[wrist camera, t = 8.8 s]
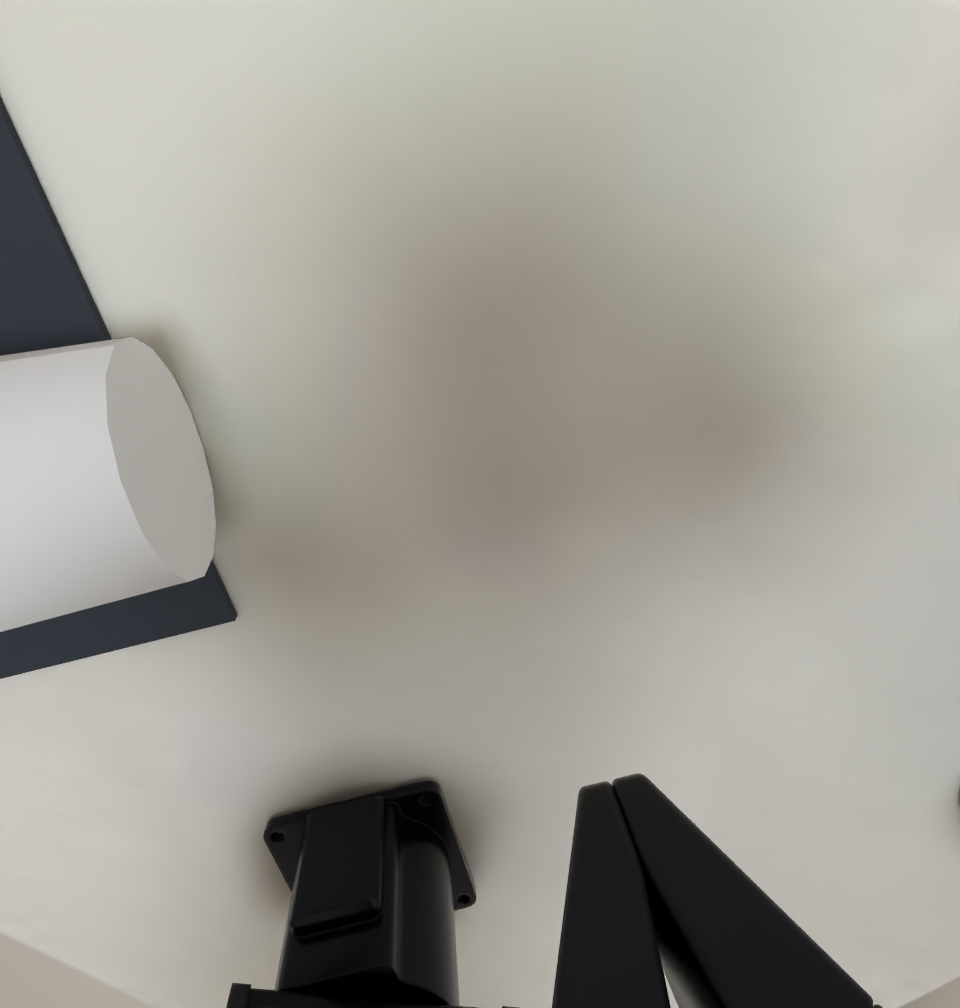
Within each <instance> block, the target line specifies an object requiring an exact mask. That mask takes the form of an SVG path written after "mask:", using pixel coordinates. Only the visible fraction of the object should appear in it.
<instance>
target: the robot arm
mask: <svg viewBox="0 0 960 1008" xmlns="http://www.w3.org/2000/svg"><path fill="white" fill-rule="evenodd" d="M425 795H431V796H427V797H425ZM263 837H264V841H265V843H266V845H267V846H268V848H269V850H270V852H271V854H272V856H273V858H274V860H275V862H276V864H277V865H278V867H279V869H280V871H281V873H282V875H283V877H284V879H285V881H286V882H287V884H288V886H289V888H290V890H291V892H292V896H291V901H290V907H289V913H288V918H287V924H286V929H285V935H284V941H283V946H282V952H281V957H280V963H279V969H278V974H277V980H276V985H275V990H265V989H253V988H251V984H240V983H232V987H231V991H230V995H229V999H228V1003H227V1007H226V1008H476V1007H465V1006H459V991H458V973H457V956H456V939H455V921H454V910H458V909H462V908H467V907H469V906H471V905H473V904H474V903H475V901H476V890H475V885H474V882H473V879H472V876H471V873H470V871H469V868H468V865H467V862H466V859H465V856H464V853H463V851H462V848H461V845H460V842H459V839H458V836H457V833H456V831H455V828H454V825H453V822H452V819H451V816H450V813H449V810H448V808H447V805H446V802H445V799H444V796H443V793H442V790H441V788H440V786H439V785H438V784H437V783H435V782H432V781H424V782H420V783H415V784H411V785H407V786H403V787H399V788H395V789H391V790H387V791H383V792H379V793H375V794H370V795H366V796H362V797H358V798H354V799H350V800H346V801H342V802H338V803H334V804H330V805H325V806H321V807H317V808H313V809H309V810H305V811H301V812H297V813H293V814H289V815H285V816H280V817H276V818H273V819H271V820H270V821H268V822H267V824H266V827H265V831H264V836H263ZM663 969H664V972H665V974H666V977H667V980H668V982H669V985H670V987H671V990H672V992H673V994H674V997H675V999H676V1002H677V1004H678V1006H679V1008H882V1007H881V1006H880V1005H874V1006H873V1000H872V998H871V996H870V995H869V994H868V993H867V992H866V991H865V990H864V989H862V988H861V987H860V986H859V985H858V984H857V983H856V982H855V981H854V980H853V979H852V978H851V977H850V976H849V975H848V974H847V973H846V972H845V971H844V970H843V969H842V968H841V967H840V966H839V965H838V964H837V963H836V962H835V961H834V960H833V959H832V958H831V957H830V956H829V955H828V954H827V953H826V952H825V951H824V950H823V949H822V948H821V947H820V946H819V945H818V944H816V943H815V942H814V941H813V940H812V939H811V938H810V937H809V936H808V935H807V934H806V933H805V932H804V931H803V930H802V929H801V928H800V927H799V926H798V925H797V924H796V923H795V922H794V921H793V920H792V919H791V918H790V917H789V916H788V915H787V914H786V913H785V912H784V911H783V910H782V909H781V908H780V907H779V906H778V905H777V904H776V903H775V902H774V901H773V900H772V899H771V898H769V897H768V896H767V895H766V894H765V893H764V892H763V891H762V890H761V889H760V888H759V887H758V886H757V885H756V884H755V883H754V882H753V881H752V880H751V879H750V878H749V877H748V876H747V875H746V874H745V873H744V872H743V871H742V870H741V869H740V868H739V867H738V866H737V865H736V864H735V863H734V862H733V861H732V860H731V859H730V858H729V857H728V856H727V855H726V854H725V853H723V852H722V851H721V850H720V849H719V848H718V847H717V846H716V845H715V844H714V843H713V842H712V841H711V840H710V839H709V838H708V837H707V836H706V835H705V834H704V833H703V832H702V831H701V830H700V829H699V828H698V827H697V826H696V825H695V824H694V823H693V822H692V821H691V820H690V819H689V818H688V817H687V816H686V815H685V814H684V813H683V812H682V811H681V810H680V809H679V808H677V807H676V806H675V805H674V804H673V803H672V802H671V801H670V800H669V799H668V798H667V797H666V796H665V795H664V794H663V793H662V792H661V791H660V790H659V789H658V788H657V787H656V786H655V785H654V784H653V783H652V782H651V781H650V780H649V779H648V778H647V777H645V776H644V775H642V774H633V775H629V776H625V777H621V778H617V779H615V780H614V781H613V782H612V785H611V784H610V783H609V782H600V783H596V784H592V785H588V786H584V787H582V788H581V789H580V791H579V795H578V802H577V810H576V818H575V826H574V835H573V843H572V851H571V859H570V867H569V875H568V883H567V891H566V899H565V907H564V915H563V923H562V931H561V939H560V947H559V955H558V963H557V971H556V979H555V987H554V995H553V1003H552V1008H670V1003H669V997H668V992H667V987H666V982H665V977H664V972H663ZM502 1008H518V1007H507V1006H503V1007H502Z"/></svg>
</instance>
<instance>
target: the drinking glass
mask: <svg viewBox="0 0 960 1008" xmlns="http://www.w3.org/2000/svg"><path fill="white" fill-rule="evenodd" d="M215 532H216V518H215V508H214V497H213V487H212V483H211V478H210V474H209V470H208V465H207V461H206V457H205V452H204V448H203V445H202V442H201V439H200V436H199V434H198V431H197V428H196V425H195V422H194V420H193V417H192V414H191V411H190V408H189V406H188V404H187V402H186V400H185V398H184V396H183V395H182V393H181V391H180V389H179V387H178V385H177V383H176V381H175V379H174V377H173V375H172V373H171V372H170V371H169V369H168V368H167V367H166V366H165V364H164V363H163V362H162V360H161V359H160V358H159V357H158V355H157V354H156V353H155V352H154V350H153V349H152V348H151V347H149V346H148V345H146V344H144V343H142V342H140V341H139V340H137V339H135V338H133V337H126V338H120V339H113V340H106V341H99V342H92V343H86V344H79V345H72V346H65V347H58V348H51V349H44V350H37V351H30V352H23V353H16V354H9V355H3V356H0V632H2V631H6V630H10V629H13V628H17V627H21V626H24V625H28V624H32V623H36V622H39V621H43V620H47V619H51V618H54V617H58V616H62V615H65V614H69V613H73V612H77V611H80V610H84V609H88V608H92V607H95V606H99V605H103V604H107V603H110V602H114V601H118V600H121V599H125V598H129V597H133V596H136V595H140V594H144V593H148V592H151V591H155V590H159V589H162V588H166V587H170V586H174V585H177V584H181V583H186V582H189V581H192V580H195V579H198V578H201V577H203V576H205V574H206V571H207V569H208V567H209V565H210V562H211V560H212V558H213V556H214V545H215Z"/></svg>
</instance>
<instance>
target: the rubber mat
mask: <svg viewBox="0 0 960 1008" xmlns="http://www.w3.org/2000/svg"><path fill="white" fill-rule="evenodd" d="M106 340H111V339H110V336H109V334H108V332H107V330H106V328H105V325H104V323H103V321H102V319H101V317H100V315H99V312H98V310H97V308H96V306H95V304H94V301H93V299H92V297H91V295H90V293H89V291H88V288H87V286H86V284H85V282H84V280H83V277H82V275H81V273H80V271H79V269H78V266H77V264H76V262H75V260H74V258H73V256H72V253H71V251H70V249H69V247H68V245H67V242H66V240H65V238H64V236H63V234H62V232H61V229H60V227H59V225H58V223H57V221H56V218H55V216H54V214H53V212H52V210H51V207H50V205H49V203H48V201H47V199H46V197H45V194H44V192H43V190H42V188H41V186H40V183H39V181H38V179H37V177H36V175H35V173H34V170H33V168H32V166H31V164H30V162H29V159H28V157H27V155H26V153H25V151H24V148H23V146H22V144H21V142H20V140H19V138H18V135H17V133H16V131H15V129H14V127H13V124H12V122H11V120H10V118H9V116H8V114H7V111H6V109H5V107H4V105H3V103H2V100H1V98H0V356H3V355H9V354H16V353H23V352H30V351H37V350H44V349H51V348H58V347H65V346H72V345H79V344H86V343H92V342H99V341H106ZM236 617H237V614H236V612H235V610H234V607H233V605H232V603H231V601H230V599H229V596H228V594H227V592H226V590H225V588H224V586H223V583H222V581H221V579H220V577H219V575H218V572H217V570H216V568H215V566H214V564H213V562H212V560H211V562H210V565H209V567H208V569H207V571H206V574H205V576H203V577H201V578H198V579H195V580H192V581H189V582H186V583H181V584H177V585H174V586H170V587H166V588H162V589H159V590H155V591H151V592H148V593H144V594H140V595H136V596H133V597H129V598H125V599H121V600H118V601H114V602H110V603H107V604H103V605H99V606H95V607H92V608H88V609H84V610H80V611H77V612H73V613H69V614H65V615H62V616H58V617H54V618H51V619H47V620H43V621H39V622H36V623H32V624H28V625H24V626H21V627H17V628H13V629H10V630H6V631H2V632H0V679H1V678H5V677H9V676H13V675H17V674H21V673H25V672H29V671H33V670H37V669H41V668H46V667H50V666H54V665H58V664H62V663H66V662H70V661H74V660H78V659H82V658H86V657H90V656H94V655H98V654H102V653H106V652H110V651H114V650H118V649H122V648H126V647H130V646H134V645H138V644H142V643H147V642H151V641H155V640H159V639H163V638H167V637H171V636H175V635H179V634H183V633H187V632H191V631H195V630H199V629H203V628H207V627H211V626H215V625H219V624H223V623H227V622H231V621H235V620H236Z"/></svg>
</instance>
